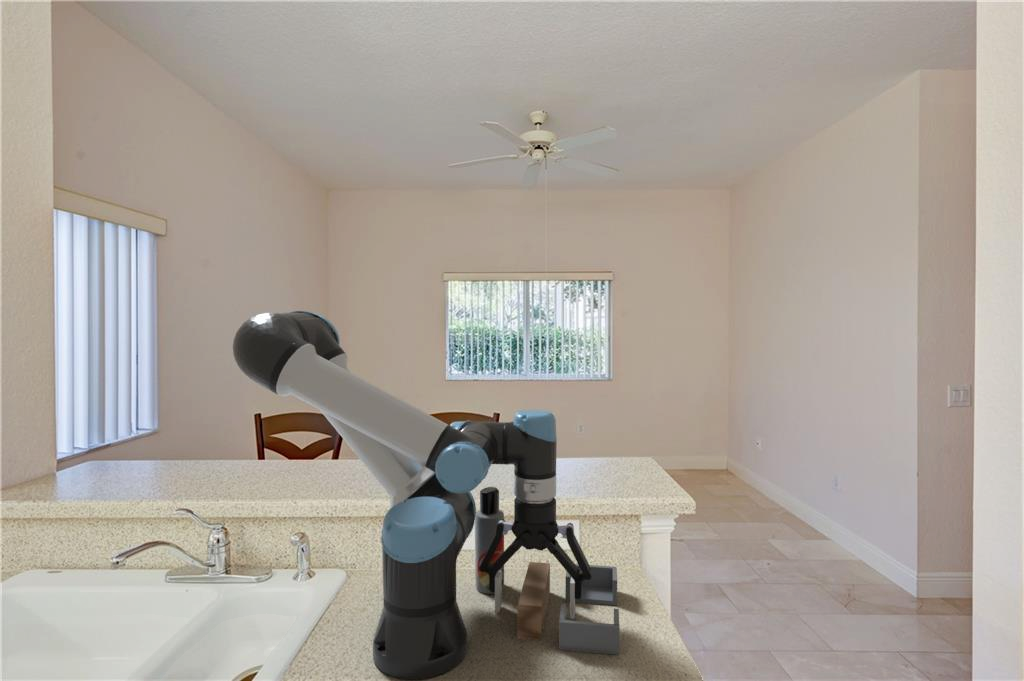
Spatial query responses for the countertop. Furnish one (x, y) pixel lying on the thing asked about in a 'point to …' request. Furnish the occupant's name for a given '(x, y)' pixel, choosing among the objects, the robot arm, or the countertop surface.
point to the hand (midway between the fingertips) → (535, 611)
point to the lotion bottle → (487, 535)
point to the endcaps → (592, 633)
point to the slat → (534, 601)
